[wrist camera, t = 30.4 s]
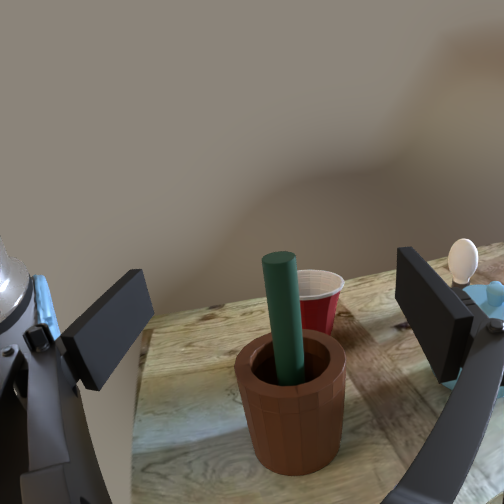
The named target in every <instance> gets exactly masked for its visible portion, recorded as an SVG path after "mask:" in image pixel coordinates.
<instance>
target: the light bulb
mask: <svg viewBox="0 0 504 504" xmlns="http://www.w3.org/2000/svg"><path fill="white" fill-rule="evenodd" d="M477 264H478V253H477V249H476V247H475V245H474V244H473V243H472V242H471V241H470V240H468V239H460V240H458V241H457V242H455V243H454V244H453V246H452V247H451V250H450V252H449V257H448V265H449V269H450V272H451V274H452V275H453V280H452V287H458V288H460V289H462V290H463V289H464V288H465V287H467V286H469V285H470V280H469V278H470V277H471V276H472V275H473V274H474V272H475V270H476V268H477Z"/></svg>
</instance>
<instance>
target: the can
mask: <svg viewBox="0 0 504 504" xmlns="http://www.w3.org/2000/svg"><path fill="white" fill-rule="evenodd" d="M503 495H504V491H503V492H501V493H499V494H498V495H496V496H495V497H493V498H492V499H491V500H490V501H489V502H487V503H486V504H502V502H503Z"/></svg>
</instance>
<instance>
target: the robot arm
mask: <svg viewBox="0 0 504 504" xmlns="http://www.w3.org/2000/svg"><path fill="white" fill-rule="evenodd" d="M395 299H396V301H397V302H398V304H399V306H400V308H401V310H402V311H403V313H404V315H405V317H406V319H407V321H408V323H409V324H410V326H411V328H412V330H413V332H414V334H415V336H416V338H417V340H418V342H419V344H420V345H421V347H422V349H423V351H424V353H425V355H426V357H427V359H428V361H429V364H430V366H431V368H432V370H433V372H434V374H435V376H436V378H437V380H438V382H439V384H440V383H445V382H449V381H453V380H457V378H458V375H459V371H460V368H462V371H461V373H460V375H459V378H458V380H457V382H456V384H455V386H454V389H453V391H452V393H451V395H450V397H449V399H448V401H447V403H446V405H445V407H444V409H443V411H442V413H441V415H440V417H439V418H438V420H437V422H436V424H435V426H434V428H433V429H432V431H431V433H430V435H429V436H428V438H427V440H426V442H425V443H424V445H423V447H422V448H421V450H420V451H419V453H418V455H417V456H416V458H415V459H414V461H413V462H412V464H411V466H410V467H409V469H408V470H407V472H406V473H405V474H404V476H403V477H402V479H401V480H400V482H399V483H398V484H397V486H396V487H395V488H394V489H393V490H392V491H390V492H389V493H388V495H387V496H386V497H385V498H384V499H383V501H382V502H381V503H380V504H453V502H454V500H455V498H456V496H457V495H458V493H459V491H460V489H461V487H462V485H463V483H464V481H465V479H466V477H467V474H468V472H469V470H470V468H471V466H472V463H473V461H474V459H475V457H476V454H477V452H478V449H479V447H480V444H481V442H482V439H483V437H484V434H485V431H486V429H487V426H488V423H489V420H490V417H491V414H492V411H493V408H494V405H495V402H496V398H497V395H498V392H499V388H500V386H504V320H501V319H498V318H489V317H488V316H487V315H486V314H485V313H484V311H483V310H482V309H481V308H480V307H479V306H478V305H477V304H476V302H475V301H474V300H473V299H471V297H470V296H469V295H468V294H467V293H466V292H465V291H463V290H462V289H460V288H458V287H452V288H450V287H449V286H448V285H447V284H446V283H445V282H444V280H443V279H442V278H441V277H440V276H439V275H438V274H437V273H436V272H435V271H434V270H433V269H432V267H431V266H430V265H429V264H428V263H427V262H426V261H425V260H424V259H423V258H422V257H421V256H420V255H419V254H418V253H417V252H416V251H415V250H414V249H413V248H412V247H401V248H397V271H396V290H395ZM153 315H154V310H153V307H152V303H151V300H150V296H149V293H148V289H147V286H146V282H145V279H144V275H143V271H142V269H132V270H129V271H128V272H127V273H126V274H125V275H124V276H123V277H122V278H121V279H119V280H118V281H117V282H116V283H115V284H114V285H113V286H112V287H110V289H108V290H107V291H106V292H105V293H104V294H103V295H102V296H101V297H100V298H99V299H98V300H97V301H96V302H94V303H93V304H92V305H91V306H90V307H89V308H88V309H87V310H86V311H85V312H84V313H83V314H82V315H81V316H79V317H78V318H77V319H76V320H75V321H74V322H73V323H72V324H71V325H70V326H69V327H68V328H67V329H66V330H65V331H64V332H63V333H62V334H60V331H59V327H58V323H57V319H56V315H55V312H54V307H53V303H52V299H51V295H50V291H49V288H48V284H47V282H46V279H45V277H44V276H43V275H34V276H32V277H30V275H29V273H28V270H27V268H26V266H25V264H24V263H23V262H22V261H21V260H19V259H17V258H15V257H11V256H8V255H7V252H6V250H5V247H4V244H3V242H2V239H1V236H0V504H112V502H111V499H110V496H109V494H108V491H107V488H106V486H105V482H104V480H103V477H102V474H101V471H100V468H99V464H98V461H97V458H96V455H95V451H94V448H93V444H92V441H91V437H90V434H89V429H88V426H87V422H86V417H85V413H84V409H83V404H82V399H81V395H80V390H79V388H78V386H77V385H76V383H77V382H78V381H79V379H81V381H82V383H83V385H84V386H85V388H86V389H89V390H94V391H100V390H101V388H102V387H103V385H104V384H105V382H106V381H107V380H108V378H109V377H110V375H111V374H112V372H113V371H114V369H115V368H116V367H117V365H118V364H119V362H120V361H121V359H122V358H123V356H124V355H125V354H126V352H127V351H128V350H129V348H130V347H131V345H132V344H133V343H134V341H135V340H136V338H137V337H138V336H139V334H140V333H141V331H142V330H143V329H144V327H145V326H146V324H147V323H148V322H149V320H150V319H151V318H152V316H153ZM14 388H15V390H16V392H17V396H16V394H15V392H14ZM29 465H30V472H28V469H29ZM502 504H504V495H503V502H502Z"/></svg>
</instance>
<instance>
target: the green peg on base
mask: <svg viewBox="0 0 504 504" xmlns="http://www.w3.org/2000/svg"><path fill="white" fill-rule="evenodd" d="M262 266H263V274H264V281H265V288H266V296H267V303H268V311H269V318H270V326H271V334H272V341H273V349H274V356H275V364H276V372H277V380H278V386H297V385H300V384H304V383H305V367H304V351H303V336H302V323H301V310H300V298H299V286H298V275H297V264H296V255H295V254H294V253H292V252H286V251H283V252H282V251H281V252H274V253H270V254H267V255H265V256H264V257H263V258H262Z"/></svg>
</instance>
